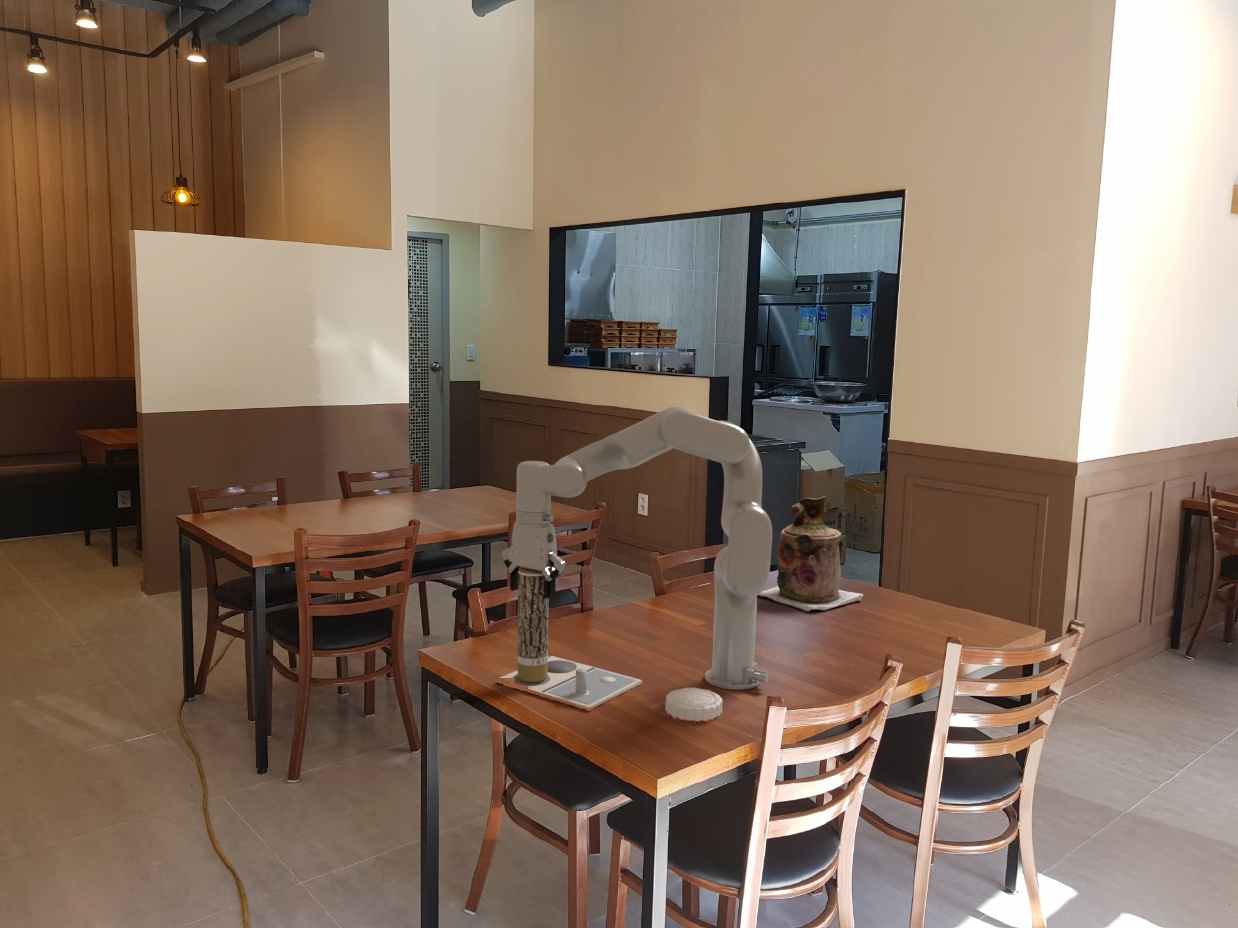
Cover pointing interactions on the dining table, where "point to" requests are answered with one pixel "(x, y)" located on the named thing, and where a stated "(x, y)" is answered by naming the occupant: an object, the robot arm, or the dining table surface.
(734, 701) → the dining table surface
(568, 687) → the board
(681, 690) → the mooncake
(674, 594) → the dining table surface
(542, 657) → the paper tube
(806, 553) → the cookie jar
